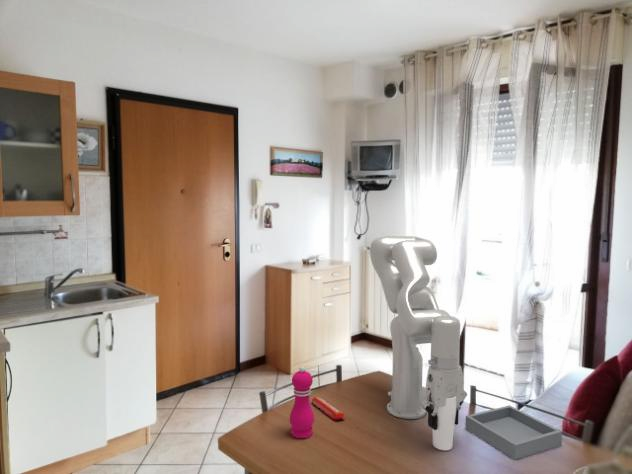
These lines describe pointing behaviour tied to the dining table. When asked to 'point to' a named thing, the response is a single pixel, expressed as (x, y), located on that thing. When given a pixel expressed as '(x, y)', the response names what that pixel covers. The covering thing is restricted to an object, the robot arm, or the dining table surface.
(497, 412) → the tray
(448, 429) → the drinking glass
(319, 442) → the dining table surface
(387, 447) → the dining table surface
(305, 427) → the pepper mill
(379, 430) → the dining table surface
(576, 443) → the dining table surface
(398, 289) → the robot arm
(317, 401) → the candy bar
